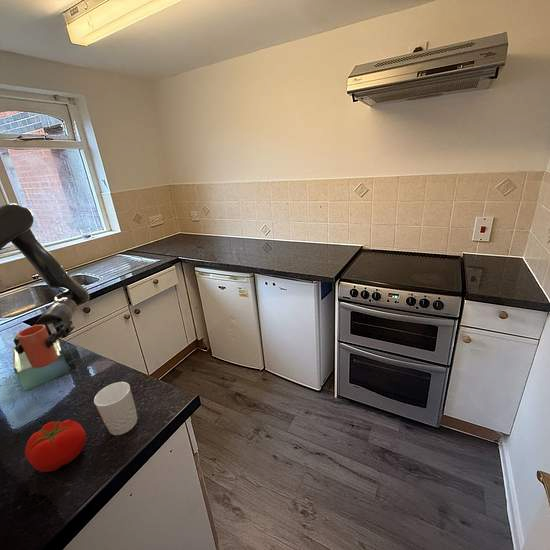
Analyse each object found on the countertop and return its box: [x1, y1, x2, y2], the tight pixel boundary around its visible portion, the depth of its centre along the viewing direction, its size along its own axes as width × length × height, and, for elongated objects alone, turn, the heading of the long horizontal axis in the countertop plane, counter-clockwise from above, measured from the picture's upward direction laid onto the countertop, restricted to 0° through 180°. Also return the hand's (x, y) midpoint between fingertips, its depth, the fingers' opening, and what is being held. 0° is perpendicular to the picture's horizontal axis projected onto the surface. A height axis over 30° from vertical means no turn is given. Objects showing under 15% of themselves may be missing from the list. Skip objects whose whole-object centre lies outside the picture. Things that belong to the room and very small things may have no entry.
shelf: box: [12, 340, 71, 392], centre depth 99 cm, size 16×12×8 cm
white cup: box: [93, 381, 139, 436], centre depth 74 cm, size 8×8×10 cm
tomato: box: [24, 419, 87, 473], centre depth 66 cm, size 11×11×9 cm
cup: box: [16, 324, 58, 368], centre depth 82 cm, size 6×6×10 cm
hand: (33, 347), depth 80 cm, fingers closed on cup, 6 cm apart
